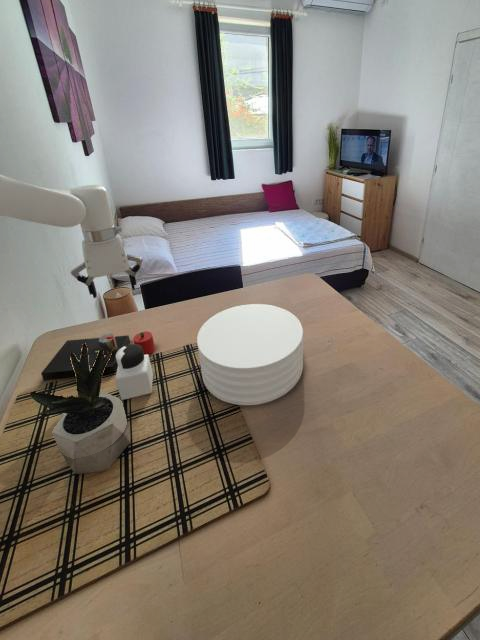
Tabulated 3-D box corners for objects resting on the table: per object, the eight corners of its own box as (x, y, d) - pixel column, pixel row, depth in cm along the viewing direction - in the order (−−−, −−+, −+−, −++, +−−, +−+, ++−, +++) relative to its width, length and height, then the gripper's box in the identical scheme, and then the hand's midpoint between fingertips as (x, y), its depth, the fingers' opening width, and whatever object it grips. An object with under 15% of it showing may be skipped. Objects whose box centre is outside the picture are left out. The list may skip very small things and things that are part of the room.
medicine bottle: (153, 374, 89) (145, 338, 84) (151, 393, 82) (143, 355, 78) (124, 380, 87) (114, 344, 82) (121, 401, 80) (110, 362, 76)
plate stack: (214, 421, 74) (209, 383, 70) (194, 349, 98) (189, 317, 94) (321, 383, 85) (322, 347, 80) (279, 326, 108) (278, 296, 104)
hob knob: (100, 355, 92) (95, 342, 90) (105, 346, 96) (101, 333, 94) (114, 354, 92) (111, 340, 91) (119, 345, 96) (116, 332, 94)
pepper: (134, 356, 95) (129, 338, 93) (139, 345, 100) (135, 327, 97) (152, 355, 96) (148, 336, 93) (156, 344, 101) (153, 326, 98)
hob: (43, 380, 87) (40, 372, 86) (69, 347, 100) (66, 339, 99) (118, 373, 89) (116, 365, 88) (134, 341, 102) (132, 334, 101)
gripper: (134, 225, 91) (146, 279, 98) (62, 235, 84) (79, 293, 90) (137, 232, 85) (149, 289, 92) (59, 244, 78) (78, 305, 84)
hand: (114, 291), depth 91 cm, fingers open, 9 cm apart
